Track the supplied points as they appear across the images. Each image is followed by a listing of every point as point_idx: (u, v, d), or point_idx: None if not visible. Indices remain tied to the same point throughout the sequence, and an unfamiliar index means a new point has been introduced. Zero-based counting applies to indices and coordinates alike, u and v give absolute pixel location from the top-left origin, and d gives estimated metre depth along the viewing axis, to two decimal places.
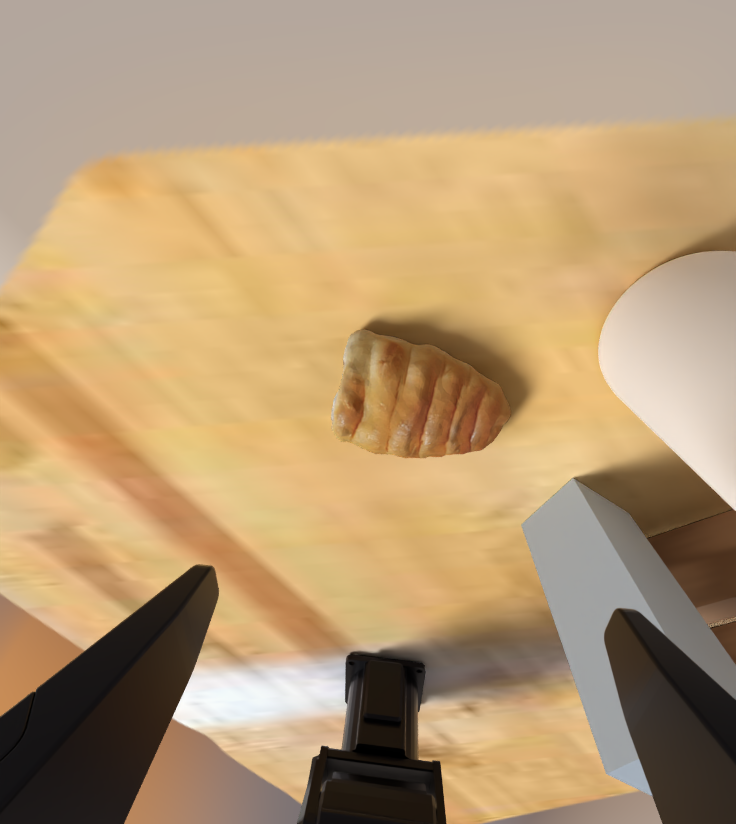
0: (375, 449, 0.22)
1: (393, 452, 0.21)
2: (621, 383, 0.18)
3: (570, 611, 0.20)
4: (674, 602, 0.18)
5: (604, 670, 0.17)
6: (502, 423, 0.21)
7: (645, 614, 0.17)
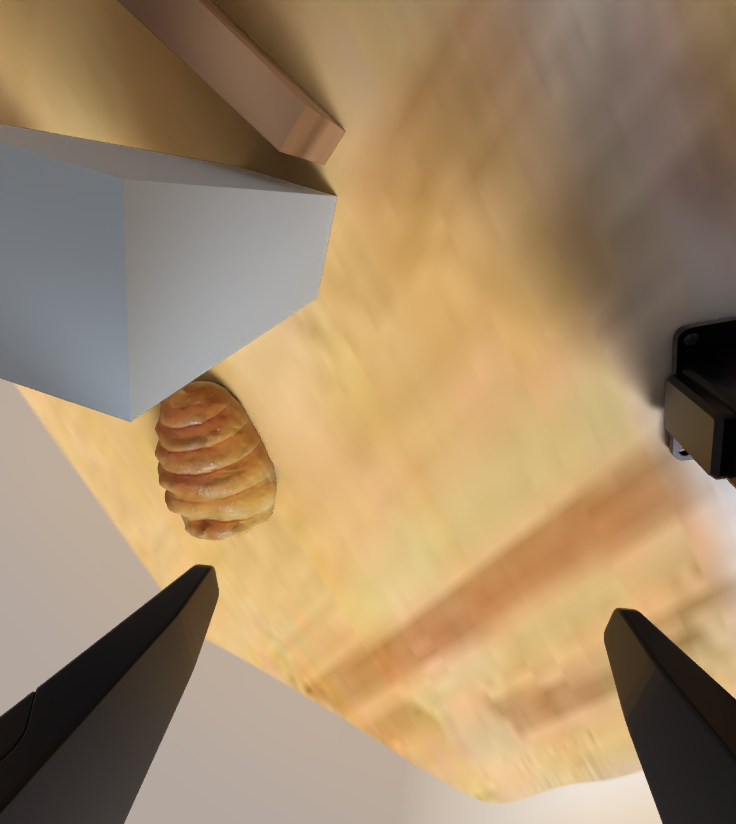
0: (246, 500, 0.23)
1: (236, 489, 0.23)
2: None
3: None
4: None
5: None
6: (181, 394, 0.22)
7: None
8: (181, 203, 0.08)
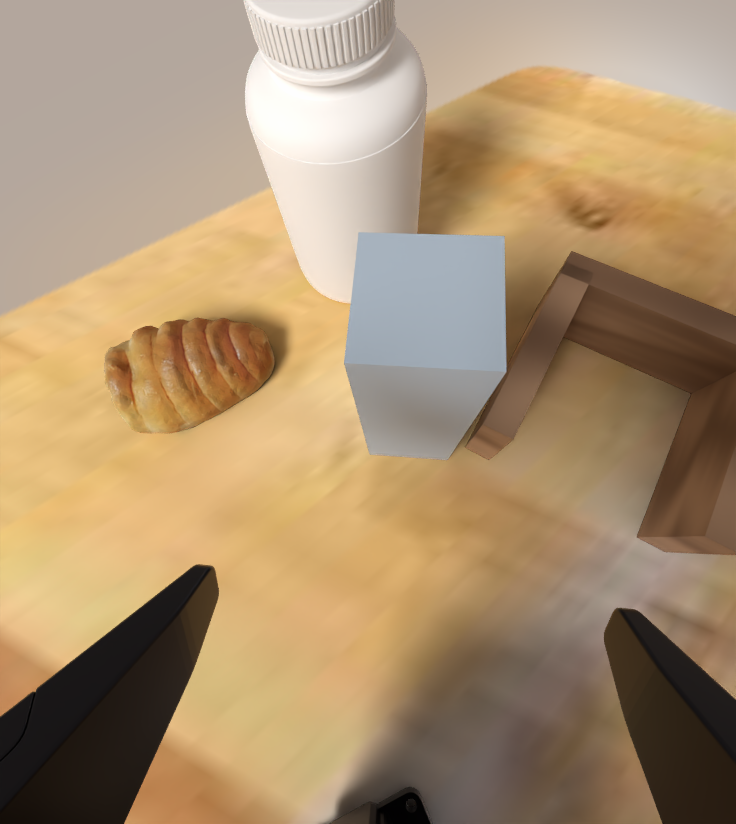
0: (160, 406, 0.23)
1: (174, 396, 0.23)
2: (308, 265, 0.24)
3: None
4: None
5: None
6: (261, 340, 0.25)
7: None
8: (482, 390, 0.13)
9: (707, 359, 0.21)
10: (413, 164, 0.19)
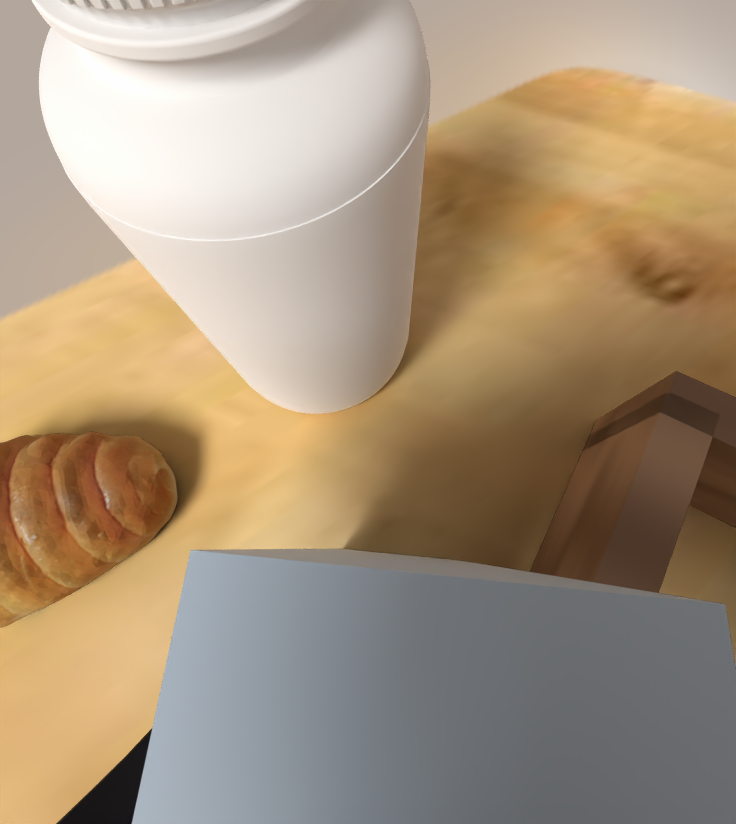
0: None
1: None
2: (234, 367, 0.15)
3: None
4: (425, 560, 0.09)
5: None
6: (151, 469, 0.16)
7: None
8: None
9: None
10: (402, 228, 0.10)
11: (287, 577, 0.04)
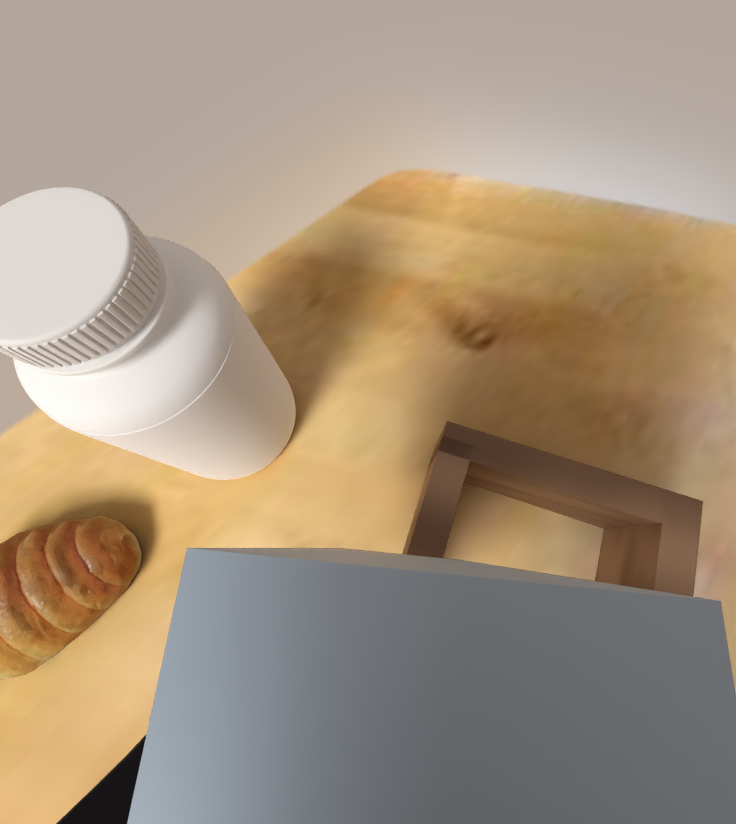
0: (1, 657, 0.19)
1: (15, 642, 0.19)
2: None
3: None
4: (423, 559, 0.09)
5: None
6: (117, 537, 0.22)
7: None
8: None
9: (608, 515, 0.20)
10: (243, 383, 0.16)
11: (283, 575, 0.04)
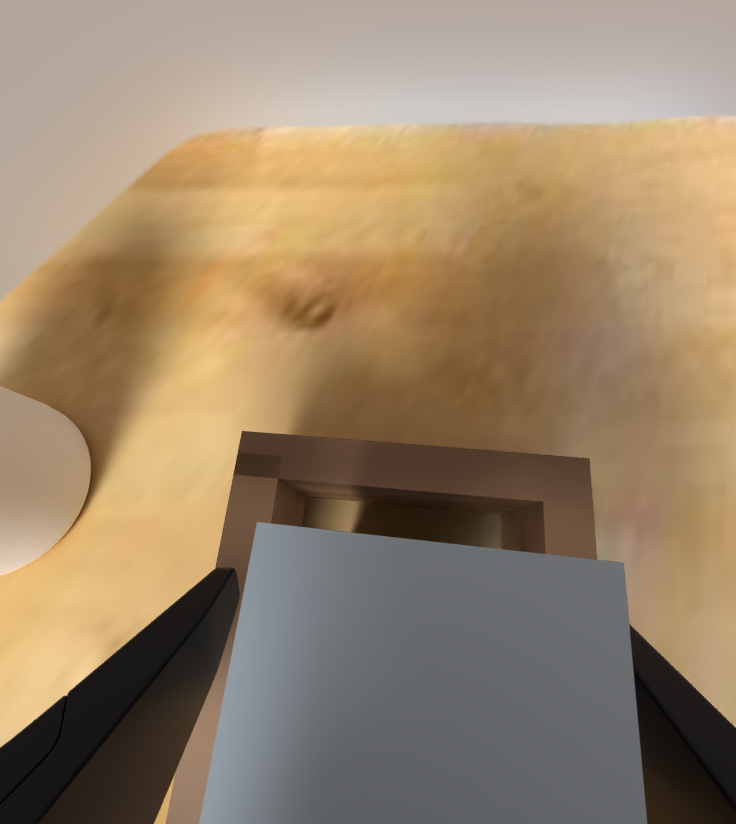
0: None
1: None
2: None
3: None
4: None
5: None
6: None
7: None
8: None
9: (485, 502, 0.15)
10: None
11: (324, 541, 0.05)
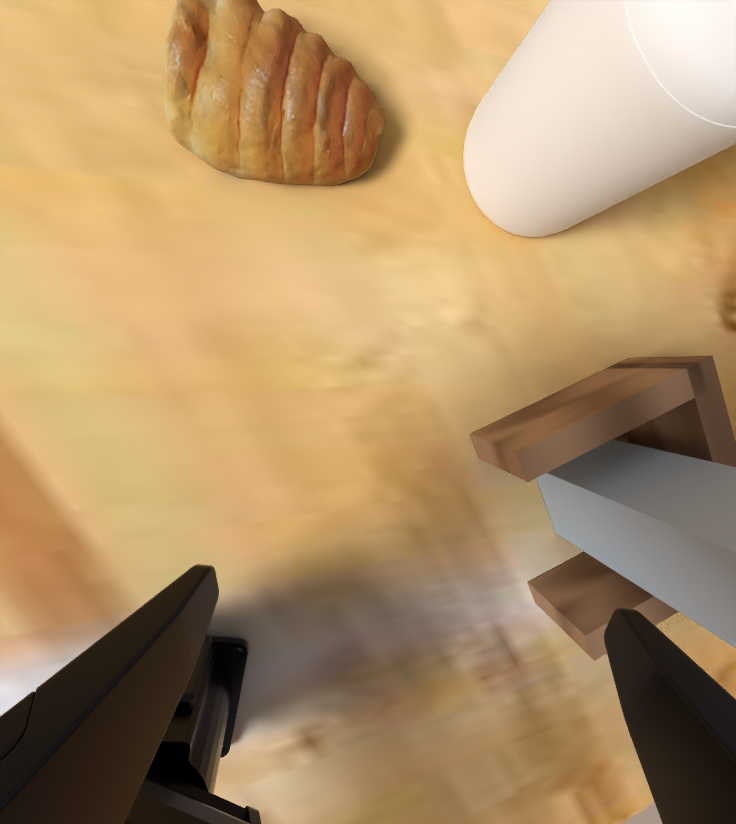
0: (223, 127, 0.17)
1: (247, 127, 0.17)
2: (488, 140, 0.18)
3: (648, 496, 0.17)
4: None
5: (731, 517, 0.14)
6: (377, 129, 0.19)
7: None
8: None
9: None
10: (709, 155, 0.14)
11: None
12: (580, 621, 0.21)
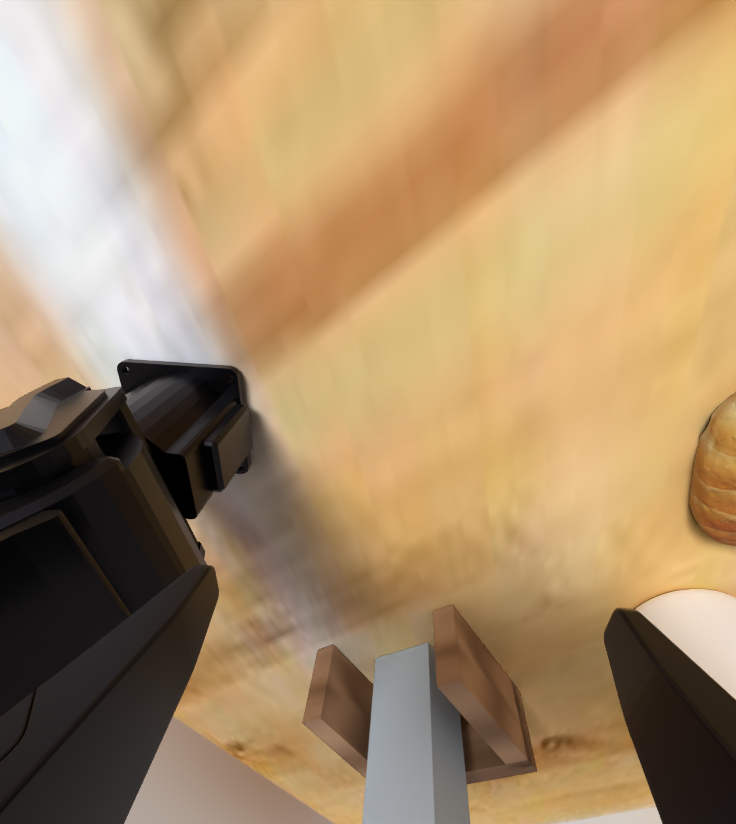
0: None
1: None
2: (712, 634, 0.22)
3: (441, 766, 0.24)
4: None
5: None
6: None
7: None
8: None
9: None
10: None
11: None
12: (326, 707, 0.27)
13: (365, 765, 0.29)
